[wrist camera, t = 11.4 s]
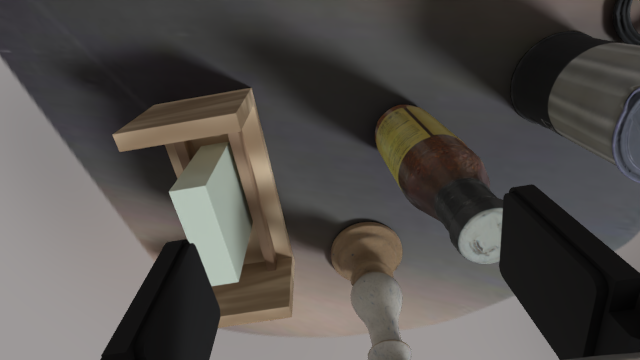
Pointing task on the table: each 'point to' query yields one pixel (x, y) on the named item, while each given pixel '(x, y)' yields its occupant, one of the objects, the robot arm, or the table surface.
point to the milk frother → (587, 90)
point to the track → (258, 184)
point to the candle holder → (373, 284)
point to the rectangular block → (214, 211)
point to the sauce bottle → (442, 180)
